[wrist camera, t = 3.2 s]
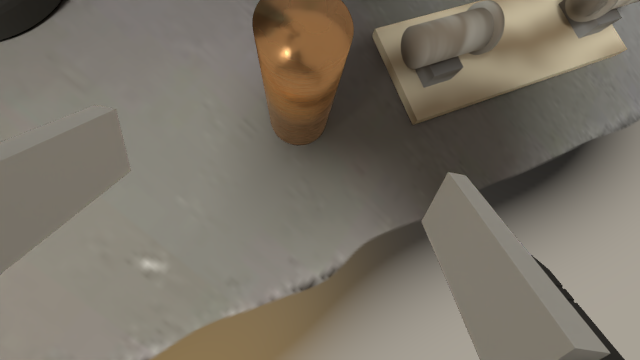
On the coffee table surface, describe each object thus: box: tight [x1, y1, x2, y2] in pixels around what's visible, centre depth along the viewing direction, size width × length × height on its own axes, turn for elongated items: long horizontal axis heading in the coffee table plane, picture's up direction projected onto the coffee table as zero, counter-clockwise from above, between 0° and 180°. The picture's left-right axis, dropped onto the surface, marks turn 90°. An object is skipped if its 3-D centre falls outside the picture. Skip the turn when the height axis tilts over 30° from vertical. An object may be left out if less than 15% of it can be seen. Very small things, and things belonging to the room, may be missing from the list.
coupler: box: [253, 0, 354, 145], centre depth 18 cm, size 5×5×11 cm
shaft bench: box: [372, 0, 640, 125], centre depth 24 cm, size 10×26×6 cm, turn 111°
